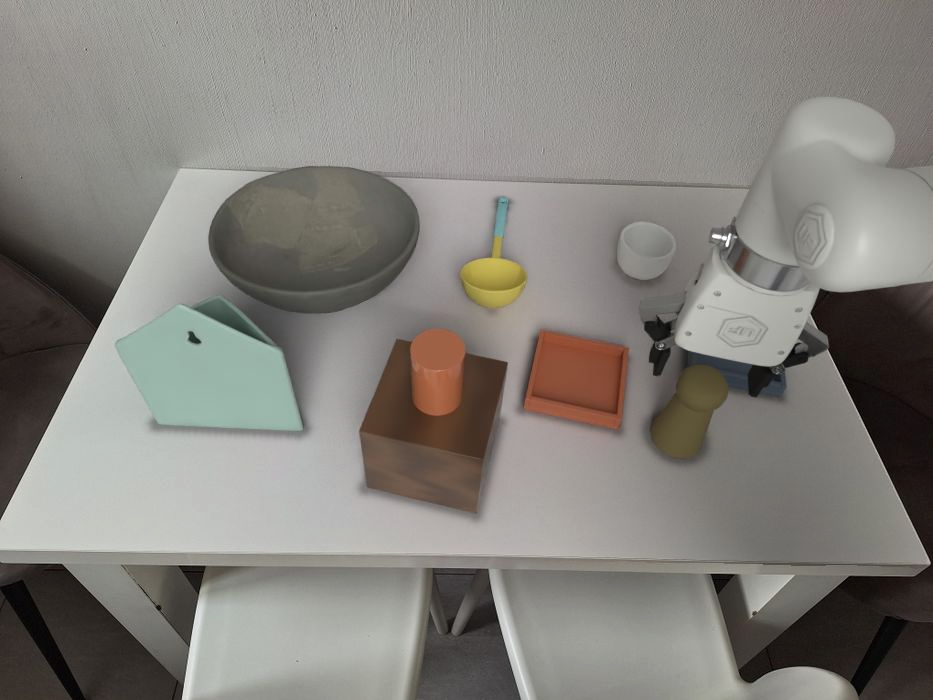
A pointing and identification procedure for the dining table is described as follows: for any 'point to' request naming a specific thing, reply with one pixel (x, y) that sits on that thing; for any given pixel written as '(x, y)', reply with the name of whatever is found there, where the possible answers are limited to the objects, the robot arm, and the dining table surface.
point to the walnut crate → (432, 434)
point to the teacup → (645, 250)
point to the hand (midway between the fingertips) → (703, 375)
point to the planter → (211, 369)
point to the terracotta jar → (437, 371)
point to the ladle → (494, 271)
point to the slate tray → (737, 373)
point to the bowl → (314, 237)
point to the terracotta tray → (578, 379)
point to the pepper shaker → (689, 411)
